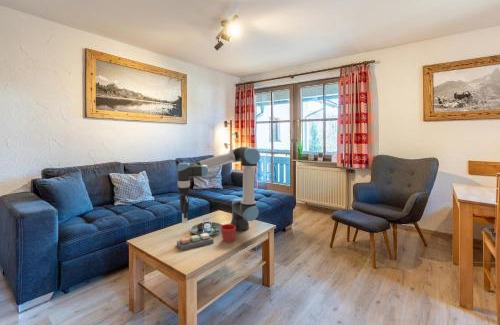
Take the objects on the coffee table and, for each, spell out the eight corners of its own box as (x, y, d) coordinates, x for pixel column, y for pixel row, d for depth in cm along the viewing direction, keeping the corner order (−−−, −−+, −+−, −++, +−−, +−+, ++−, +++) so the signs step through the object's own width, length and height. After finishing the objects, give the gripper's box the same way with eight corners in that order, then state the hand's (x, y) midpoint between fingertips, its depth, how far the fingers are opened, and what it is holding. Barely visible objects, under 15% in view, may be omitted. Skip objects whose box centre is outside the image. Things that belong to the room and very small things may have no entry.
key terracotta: (187, 240, 173) (187, 236, 172) (189, 242, 169) (189, 239, 168) (180, 241, 170) (180, 238, 170) (182, 244, 166) (182, 240, 166)
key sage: (197, 237, 176) (197, 234, 176) (199, 240, 172) (199, 237, 172) (190, 239, 174) (190, 236, 174) (193, 241, 170) (193, 238, 170)
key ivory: (206, 235, 180) (206, 232, 180) (209, 238, 176) (209, 235, 176) (200, 237, 178) (200, 234, 177) (203, 239, 174) (202, 236, 173)
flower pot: (221, 243, 174) (221, 230, 173) (220, 237, 185) (220, 224, 183) (236, 242, 176) (236, 228, 175) (234, 236, 187) (234, 223, 186)
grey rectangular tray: (207, 237, 184) (207, 234, 183) (213, 242, 175) (213, 239, 175) (176, 244, 172) (176, 241, 171) (181, 250, 163) (181, 246, 163)
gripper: (175, 185, 169) (175, 220, 172) (181, 189, 158) (182, 226, 160) (186, 184, 173) (186, 218, 176) (193, 188, 162) (193, 224, 164)
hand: (184, 222), depth 168 cm, fingers closed
